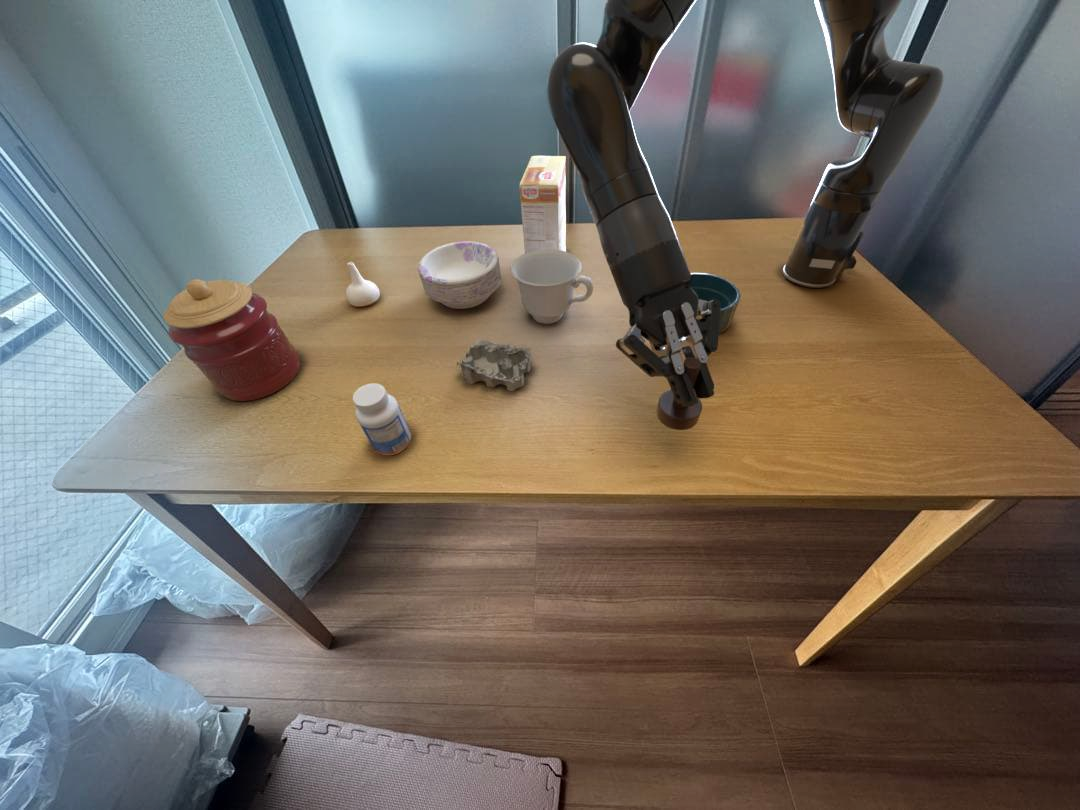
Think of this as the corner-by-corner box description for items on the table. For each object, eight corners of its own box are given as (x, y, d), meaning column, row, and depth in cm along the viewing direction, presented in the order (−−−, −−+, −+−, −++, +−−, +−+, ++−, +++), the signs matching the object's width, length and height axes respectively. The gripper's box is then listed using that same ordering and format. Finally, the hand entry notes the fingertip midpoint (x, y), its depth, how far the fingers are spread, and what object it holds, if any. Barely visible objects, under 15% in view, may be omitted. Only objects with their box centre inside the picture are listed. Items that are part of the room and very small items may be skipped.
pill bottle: (377, 428, 61) (352, 380, 54) (414, 424, 61) (394, 376, 54) (369, 458, 57) (342, 411, 50) (409, 455, 57) (387, 407, 50)
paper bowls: (412, 310, 81) (400, 272, 75) (451, 271, 90) (444, 235, 85) (481, 325, 77) (474, 287, 71) (515, 283, 86) (512, 246, 80)
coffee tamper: (688, 396, 53) (704, 344, 47) (705, 426, 49) (725, 374, 43) (650, 402, 52) (661, 351, 46) (665, 433, 49) (679, 382, 43)
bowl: (712, 295, 80) (720, 269, 76) (743, 332, 72) (753, 305, 68) (652, 303, 79) (657, 277, 75) (676, 342, 71) (683, 315, 67)
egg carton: (457, 382, 67) (452, 363, 64) (477, 353, 71) (473, 334, 68) (519, 395, 64) (517, 376, 61) (535, 364, 69) (534, 344, 66)
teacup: (573, 347, 71) (574, 297, 64) (502, 322, 77) (496, 273, 70) (604, 311, 78) (609, 262, 71) (537, 290, 84) (535, 243, 76)
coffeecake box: (536, 250, 95) (530, 155, 81) (567, 251, 94) (567, 154, 80) (525, 285, 85) (517, 184, 71) (560, 287, 84) (559, 184, 70)
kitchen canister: (222, 363, 72) (148, 270, 59) (301, 342, 76) (246, 249, 63) (215, 413, 64) (126, 319, 51) (303, 387, 67) (241, 292, 54)
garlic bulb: (357, 313, 81) (341, 276, 75) (344, 301, 84) (328, 264, 78) (387, 301, 84) (373, 264, 78) (373, 288, 87) (359, 252, 81)
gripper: (606, 258, 39) (671, 426, 41) (714, 220, 43) (769, 374, 45) (574, 283, 46) (631, 425, 48) (670, 248, 50) (719, 380, 52)
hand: (698, 400), depth 46 cm, fingers closed on coffee tamper
